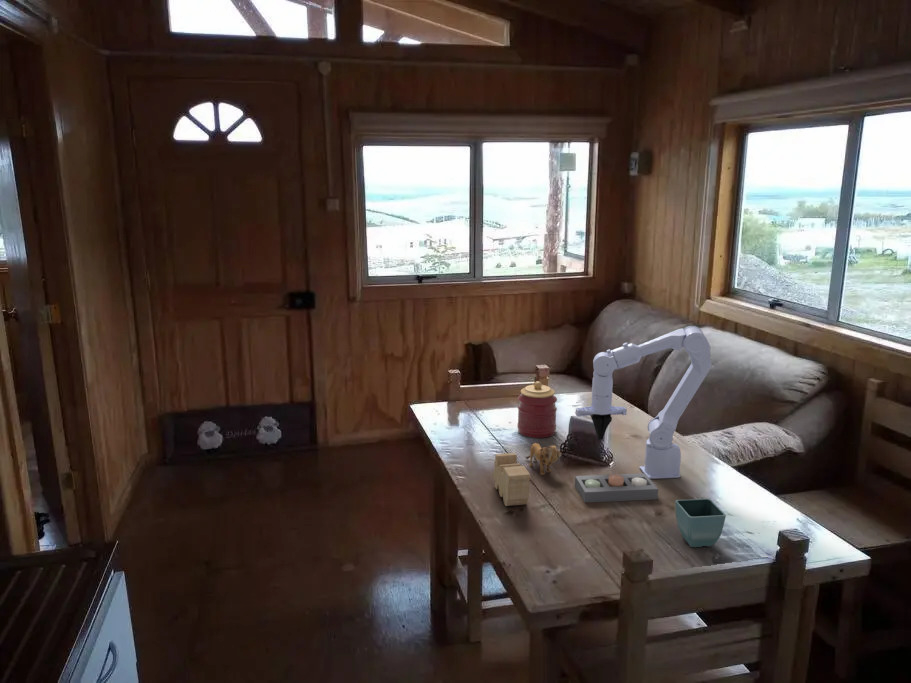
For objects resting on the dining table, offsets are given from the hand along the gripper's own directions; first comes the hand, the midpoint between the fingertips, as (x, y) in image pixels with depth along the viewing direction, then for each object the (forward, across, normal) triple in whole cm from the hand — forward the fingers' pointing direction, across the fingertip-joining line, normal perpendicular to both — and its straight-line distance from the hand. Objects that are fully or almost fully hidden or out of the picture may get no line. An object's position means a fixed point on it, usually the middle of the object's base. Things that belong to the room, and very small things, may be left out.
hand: (599, 438), depth 201 cm
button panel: (+9, 0, +16) cm, 19 cm away
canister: (+10, +12, -31) cm, 35 cm away
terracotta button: (+8, 0, +16) cm, 18 cm away
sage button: (+9, +7, +16) cm, 20 cm away
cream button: (+9, -7, +16) cm, 20 cm away
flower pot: (+10, -11, +43) cm, 45 cm away
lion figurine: (+10, +17, -1) cm, 19 cm away
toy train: (+10, +29, +15) cm, 34 cm away
